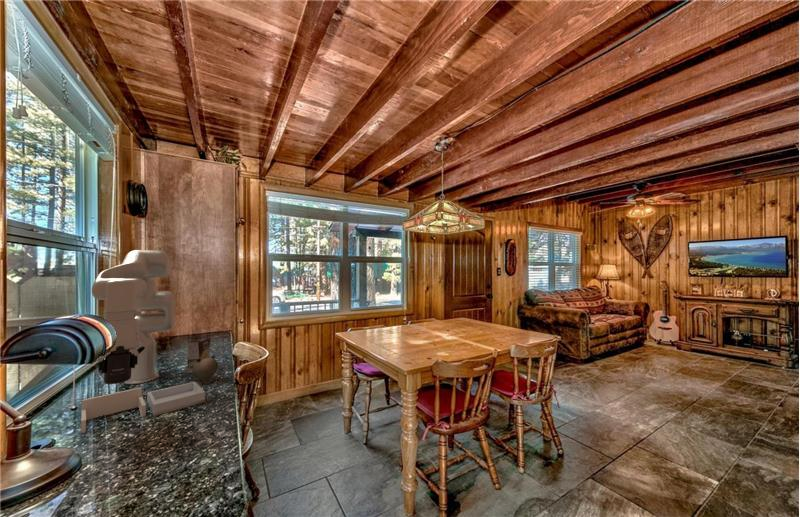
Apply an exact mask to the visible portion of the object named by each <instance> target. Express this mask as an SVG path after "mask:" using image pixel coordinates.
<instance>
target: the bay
mask: <svg viewBox="0 0 800 517" xmlns="http://www.w3.org/2000/svg"><path fill="white" fill-rule="evenodd" d="M142 394H143V388H142V387H136V388H135V387H134V388H131V389H126V390H123V391H117V392H112V393H109V394H104V395H100V396H94V397H90V398H84V399H82V400H81V416H80V418H81V419H80V434H84V433H86V430H87V429H86V428H87V427H86V426H87V420H93V419H95V418H100V417H103V415H104V416H107V415H112V414H115V413H119V412H123V411H128V410H132V409H135V408H139V409H138V410H139V413H140V415H141V417H142V418H144V417H146V414H147V412H146V411H147V404H146V402H145V400H144V398H143V395H142ZM99 416H100V417H99Z"/></svg>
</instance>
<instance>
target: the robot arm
mask: <svg viewBox="0 0 800 517" xmlns="http://www.w3.org/2000/svg"><path fill="white" fill-rule="evenodd" d="M171 262H172V261H171V258H170V256H169V254H168V253H167V252H165V251H164V250H156V249H154V250H152V249H135V250H131V251H129V252H128V253H126V255H125V256H124V258H123V260H122V263H121V264H118V265H115V266H113V267H110V268H107V269H104V270H102V271H101V272H100V273H99V274H98V275H97V277H96V278H95V279H94V281H93V283H92V286H91V294H92V296H93V298H94V299H96V300H98V301H104V321H105V320H106V321H107V322H108V323H110V324H111V325H112V326H113V327H114V329H115V331H116V335H117V340H116V343H115V345H114V347H113V348H112V349H111V350H110V351H109V352H108V353H110V352H113V351H116V347H118V346H124V349H127V350H128V351H130V352H131V353H132V371H131V378H130V379H129V380H128V381H125V382H123V383H124V384H125V385H138V384H143V383H144V382H145V383H148V381H149V382H151V380H152V381H154V379H155V380H157V379H158V378H159V377H160V373H157V372H156V349H157V348H156V347H157V340H156V339H155V338H154V337H153V336H152V335H151V334H152V333H153V334H154V333H160V332H162V333H163V332H170V331H172V330H173V329H174V327H175V321H176V320H175V318H176V317H175V315H176V314H175V313H176V311H175V310H176V309H175V308H176V306H175V305H176V301H175V295H174V293H173V292H171V291H169V290H156V280H155V278H167V277H169V276H170V275H171V273H172V263H171ZM159 311H160V312H159ZM141 312H142V313H141ZM143 312H145V313H143ZM108 353H107V354H106V355H108ZM106 355H105V356H103V357H101V358H99V359H98V360H97V362H98V370H97V371H98V372H100V371H101V374H102V375H104V373H105V357H106ZM156 378H157V379H156ZM145 383H144V384H145Z"/></svg>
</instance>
